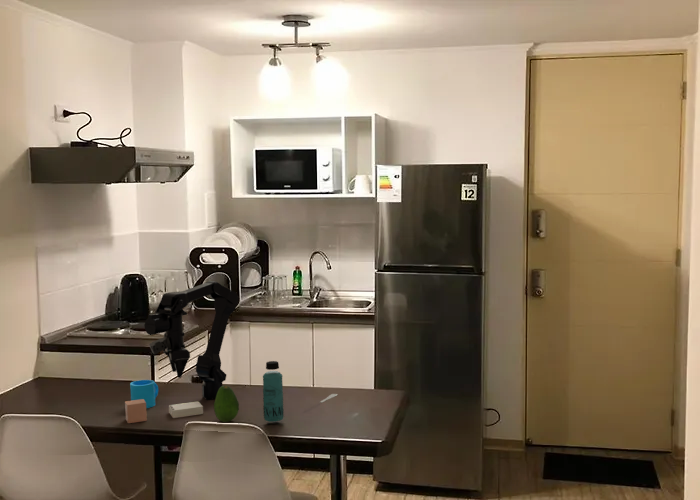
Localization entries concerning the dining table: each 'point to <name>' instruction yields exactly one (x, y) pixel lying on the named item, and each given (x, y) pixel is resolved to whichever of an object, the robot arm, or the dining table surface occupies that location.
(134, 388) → the mug
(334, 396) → the butter knife
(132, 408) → the tan cube
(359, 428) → the dining table surface
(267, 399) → the beverage bottle
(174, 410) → the slab
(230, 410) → the avocado
